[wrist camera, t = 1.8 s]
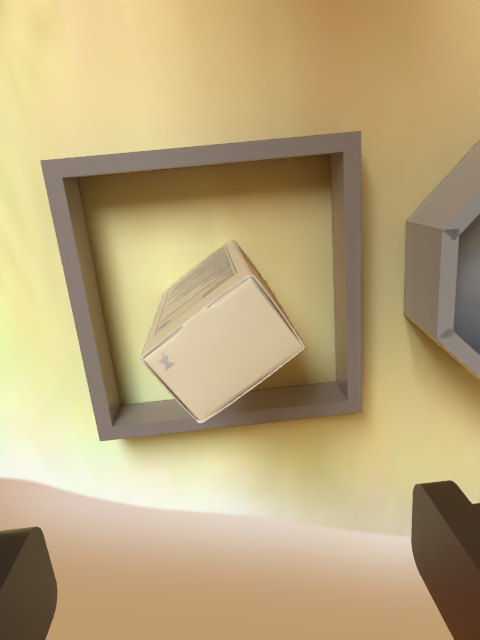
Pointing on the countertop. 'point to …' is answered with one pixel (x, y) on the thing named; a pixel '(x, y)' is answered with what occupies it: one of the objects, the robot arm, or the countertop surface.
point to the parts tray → (253, 404)
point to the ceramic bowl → (448, 264)
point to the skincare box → (218, 334)
